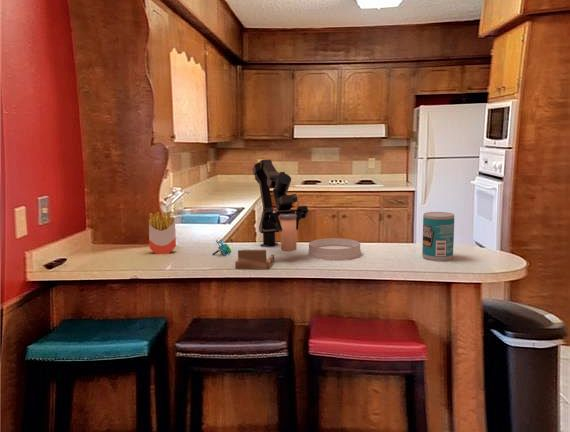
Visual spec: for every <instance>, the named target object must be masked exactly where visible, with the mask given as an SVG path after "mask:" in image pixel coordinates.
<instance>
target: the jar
mask: <svg viewBox="0 0 570 432" xmlns="http://www.w3.org/2000/svg"><path fill="white" fill-rule="evenodd" d="M296 218H297V214H295V213H282V214H280V216H279V221H280V224H281V228H282V231H280V251H282V252H294V251H297V248H298V247H297V245H298V244H297V230H296Z"/></svg>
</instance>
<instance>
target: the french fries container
mask: <svg viewBox="0 0 570 432" xmlns="http://www.w3.org/2000/svg"><path fill="white" fill-rule="evenodd" d="M148 237H149V238H148V241H149V245H148V246H149V249H150V250H151V251H152V252H153V253H154V254H156V255H163V254H166V255H167V254H170V253H171V252H172V251H173V250H174V249H175V248H176V247H177V235H176V218H174V216H171V212H170V211H163V214H161V215H160V211H157V212H156V214H153V213H152V212H151V213H149V219H148Z"/></svg>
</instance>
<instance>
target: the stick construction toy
mask: <svg viewBox="0 0 570 432" xmlns="http://www.w3.org/2000/svg"><path fill="white" fill-rule="evenodd" d="M215 242H216V244H217V246H218V247H217V250H216V251H214V252H213V253H212V256H215V255H216V254H218V253H222V254H223V256H224V257H226V256H230V255H231V253H232V250H231V248H230V246H229V244H227V243H224V241H223V240H222V238H221V239H219V240H218V239H216V240H215Z"/></svg>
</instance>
